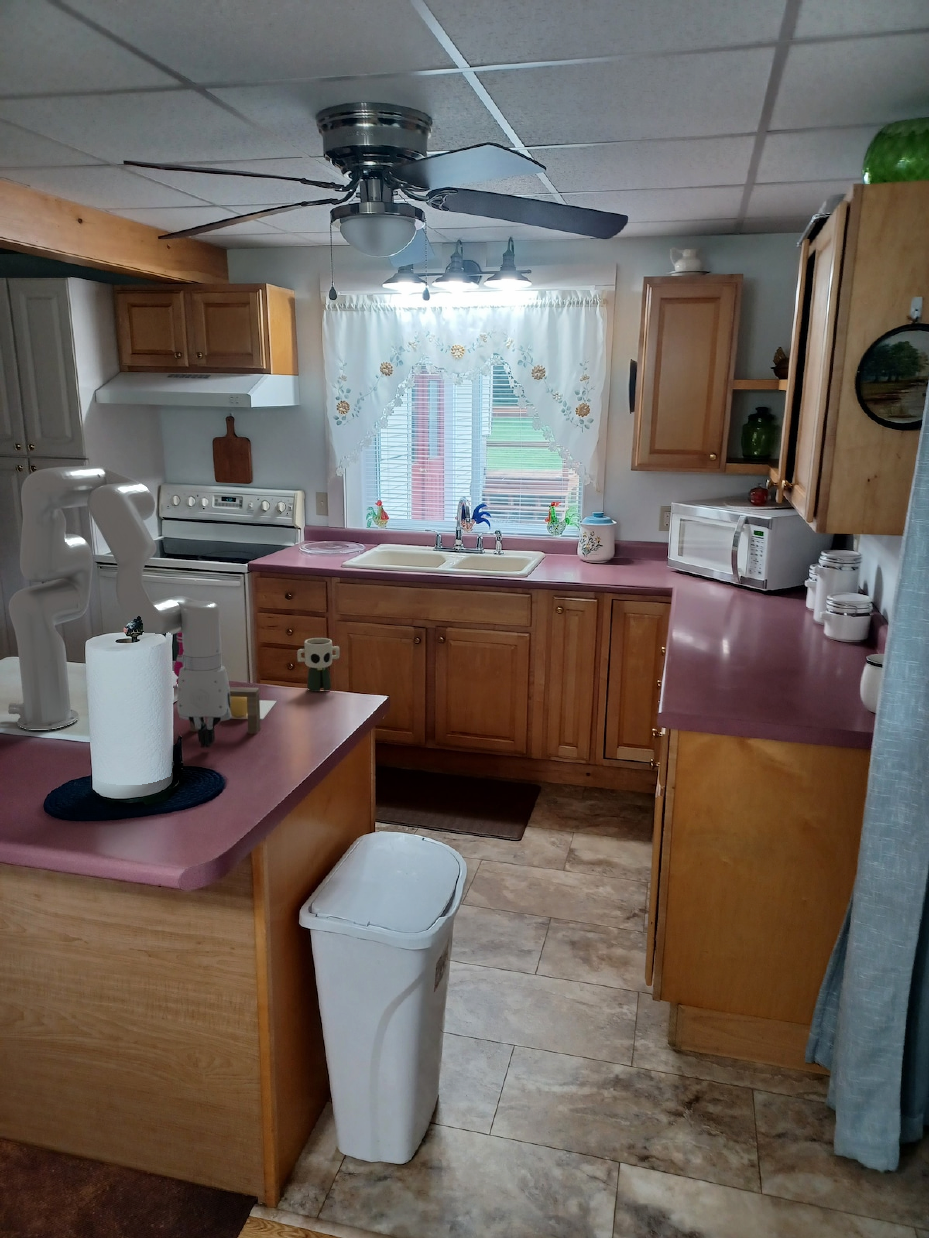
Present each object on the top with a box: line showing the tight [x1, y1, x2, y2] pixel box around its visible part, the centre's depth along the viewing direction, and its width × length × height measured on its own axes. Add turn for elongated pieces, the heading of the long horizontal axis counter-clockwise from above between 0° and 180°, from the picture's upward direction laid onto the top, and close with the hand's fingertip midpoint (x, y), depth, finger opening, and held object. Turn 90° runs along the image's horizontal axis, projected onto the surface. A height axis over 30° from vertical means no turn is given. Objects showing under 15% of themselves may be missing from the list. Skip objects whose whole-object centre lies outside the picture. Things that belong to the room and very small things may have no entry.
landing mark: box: [230, 699, 278, 721], centre depth 212 cm, size 13×13×1 cm
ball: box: [230, 696, 247, 717], centre depth 207 cm, size 6×6×6 cm
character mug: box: [296, 637, 340, 692], centre depth 227 cm, size 11×7×13 cm, turn 112°
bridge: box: [189, 686, 261, 734], centre depth 198 cm, size 3×15×10 cm, turn 88°
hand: (206, 745), depth 186 cm, fingers closed
